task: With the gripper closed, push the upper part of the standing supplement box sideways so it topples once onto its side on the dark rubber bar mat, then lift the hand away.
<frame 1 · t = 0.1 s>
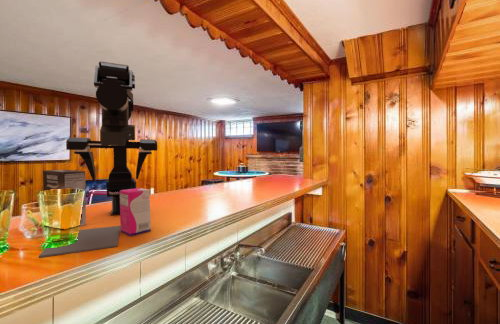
hand: (116, 180, 60), 15 cm above the counter, fingers open, 9 cm apart
supplement box: (135, 232, 66), on the counter
bar mat: (86, 239, 60), on the counter
coffee box: (65, 226, 71), on the counter
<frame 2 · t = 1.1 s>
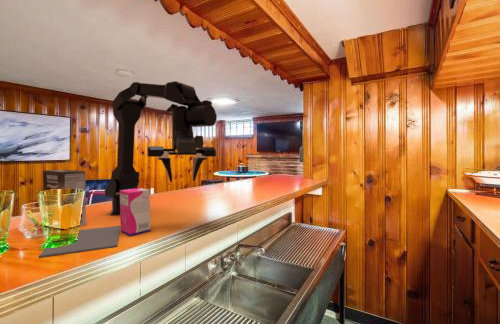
hand: (182, 181, 71), 13 cm above the counter, fingers open, 6 cm apart
nothing on the counter moved.
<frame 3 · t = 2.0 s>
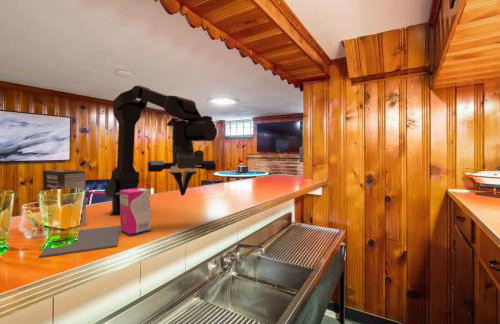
hand: (182, 195, 71), 9 cm above the counter, fingers closed
nothing on the counter moved.
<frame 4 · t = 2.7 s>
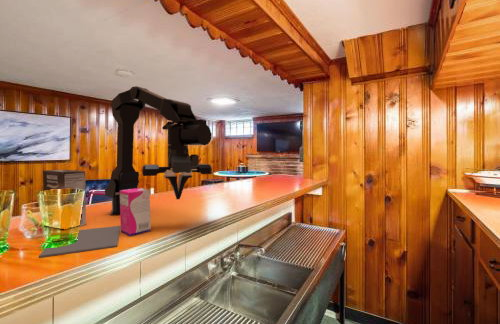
hand: (178, 199, 71), 8 cm above the counter, fingers closed
nothing on the counter moved.
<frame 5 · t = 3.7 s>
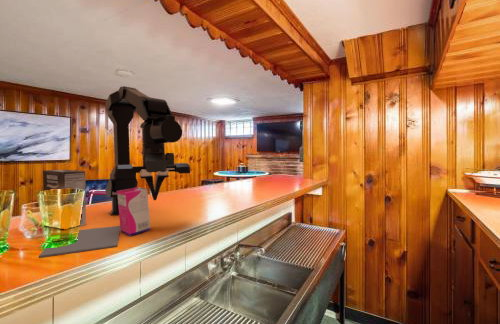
hand: (154, 200, 68), 8 cm above the counter, fingers closed
supplement box: (135, 231, 66), on the counter, touching gripper
everything else where it was.
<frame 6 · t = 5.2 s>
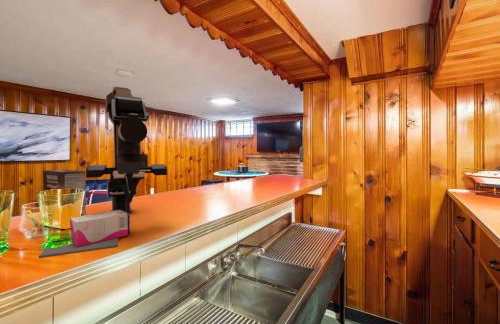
hand: (129, 202, 65), 8 cm above the counter, fingers closed
supplement box: (126, 221, 64), point 3 cm above the counter, touching bar mat
everything else where it was.
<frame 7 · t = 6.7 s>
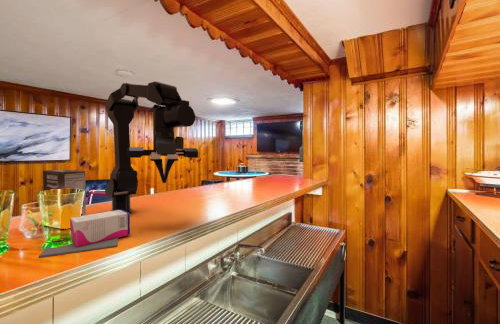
hand: (163, 182, 70), 13 cm above the counter, fingers closed
nothing on the counter moved.
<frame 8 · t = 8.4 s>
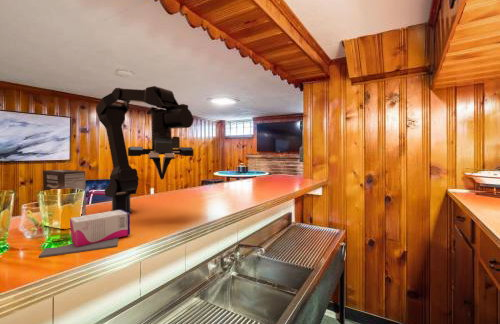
hand: (161, 179, 76), 13 cm above the counter, fingers closed
nothing on the counter moved.
at the end: supplement box tilted 90°; supplement box touching bar mat; supplement box inside the target area (2.9 cm from its centre), point 3.2 cm above the counter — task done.
